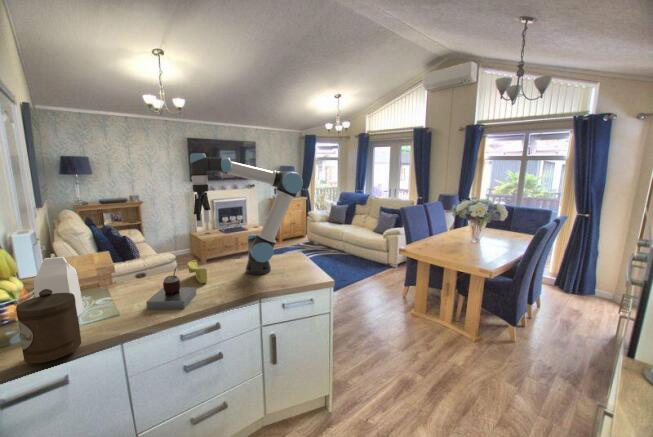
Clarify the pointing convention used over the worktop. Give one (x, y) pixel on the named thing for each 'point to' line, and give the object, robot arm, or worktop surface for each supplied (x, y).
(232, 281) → the worktop surface
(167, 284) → the mate gourd
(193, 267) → the plastic component
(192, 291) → the stand
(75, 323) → the wooden container
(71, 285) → the milk
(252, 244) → the robot arm
